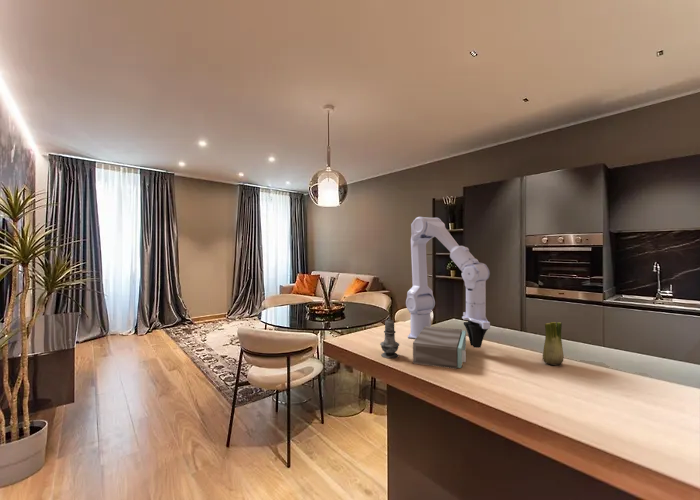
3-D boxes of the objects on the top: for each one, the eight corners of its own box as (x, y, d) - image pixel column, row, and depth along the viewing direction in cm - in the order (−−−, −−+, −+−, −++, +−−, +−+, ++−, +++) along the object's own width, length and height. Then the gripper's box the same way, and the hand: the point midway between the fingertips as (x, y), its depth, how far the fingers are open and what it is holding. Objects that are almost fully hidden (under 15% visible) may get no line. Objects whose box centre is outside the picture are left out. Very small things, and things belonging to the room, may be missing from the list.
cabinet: (424, 343, 112) (424, 326, 112) (461, 347, 108) (461, 329, 107) (413, 363, 94) (412, 342, 94) (456, 369, 89) (456, 347, 89)
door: (462, 346, 108) (462, 330, 108) (469, 346, 107) (469, 330, 107) (457, 367, 90) (457, 347, 89) (465, 368, 89) (465, 348, 89)
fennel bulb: (560, 361, 94) (560, 320, 94) (568, 367, 90) (569, 324, 89) (538, 360, 95) (538, 319, 95) (546, 366, 90) (546, 323, 90)
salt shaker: (393, 360, 96) (393, 319, 96) (376, 356, 100) (376, 317, 100) (402, 354, 101) (402, 316, 101) (386, 351, 105) (386, 313, 104)
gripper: (454, 298, 108) (454, 339, 108) (473, 307, 93) (473, 354, 94) (474, 298, 108) (475, 339, 108) (497, 306, 94) (497, 353, 94)
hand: (475, 346), depth 101 cm, fingers closed
